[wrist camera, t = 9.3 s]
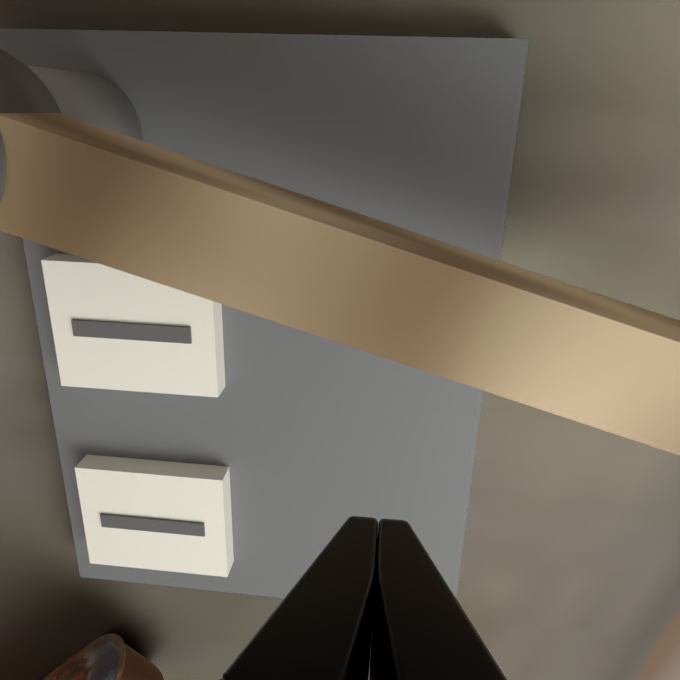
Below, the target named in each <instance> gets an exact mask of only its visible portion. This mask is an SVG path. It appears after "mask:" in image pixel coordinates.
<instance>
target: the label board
mask: <svg viewBox="0 0 680 680" xmlns="http://www.w3.org/2000/svg"><path fill="white" fill-rule="evenodd" d="M528 47H529V39H515V38H466V37H416V36H366V35H316V34H267V33H217V32H167V31H118V30H68V29H18V28H0V50H3V51H5V52H7V53H8V54H10V55H12V56H14V57H16V58H17V59H18V60H20V61H21V62H22V63H24V64H25V65H26V66H27V67H29V68H30V69H31V70H32V71H33V72H34V73H35V74H36V75H37V76H38V77H39V78H40V80H41V81H42V82H43V83H44V84H45V86H46V87H47V88H48V90H49V91H50V93H51V94H52V96H53V98H54V99H55V101H56V103H57V105H58V107H59V109H60V111H61V114H64V115H67V116H70V117H73V118H76V119H79V120H82V121H85V122H88V123H91V124H94V125H97V126H100V127H103V128H106V129H109V130H112V131H115V132H118V133H121V134H124V135H127V136H130V137H133V138H136V139H138V140H141V141H144V142H147V143H150V144H153V145H156V146H159V147H162V148H165V149H168V150H171V151H174V152H177V153H180V154H183V155H186V156H189V157H192V158H195V159H198V160H201V161H204V162H207V163H210V164H213V165H216V166H219V167H222V168H225V169H228V170H231V171H234V172H237V173H240V174H243V175H246V176H249V177H252V178H255V179H258V180H261V181H264V182H267V183H270V184H273V185H276V186H279V187H282V188H285V189H288V190H291V191H294V192H297V193H300V194H303V195H306V196H309V197H312V198H315V199H318V200H321V201H324V202H327V203H330V204H333V205H336V206H339V207H342V208H345V209H348V210H351V211H354V212H357V213H360V214H363V215H366V216H369V217H371V218H374V219H377V220H380V221H383V222H386V223H389V224H392V225H395V226H398V227H401V228H404V229H407V230H410V231H413V232H416V233H419V234H422V235H425V236H428V237H431V238H434V239H437V240H440V241H443V242H446V243H449V244H452V245H455V246H458V247H461V248H464V249H467V250H470V251H473V252H476V253H479V254H482V255H485V256H488V257H491V258H494V259H497V260H501V252H502V245H503V237H504V229H505V222H506V214H507V206H508V199H509V191H510V184H511V176H512V168H513V161H514V153H515V146H516V138H517V130H518V123H519V115H520V107H521V100H522V92H523V85H524V77H525V69H526V62H527V54H528ZM22 239H23V238H22ZM23 245H24V251H25V257H26V262H27V268H28V274H29V280H30V286H31V292H32V298H33V303H34V309H35V315H36V321H37V327H38V333H39V339H40V344H41V350H42V356H43V362H44V368H45V374H46V380H47V385H48V391H49V397H50V403H51V409H52V415H53V421H54V426H55V432H56V438H57V444H58V450H59V456H60V462H61V467H62V473H63V479H64V485H65V491H66V497H67V503H68V508H69V514H70V520H71V526H72V532H73V538H74V544H75V549H76V555H77V561H78V567H79V573H80V577H85V578H95V579H104V580H114V581H124V582H133V583H143V584H153V585H162V586H172V587H182V588H192V589H201V590H211V591H221V592H230V593H240V594H250V595H259V596H269V597H279V598H285V597H286V595H287V594H288V593H289V592H290V590H291V589H292V588H293V587H294V585H295V584H296V583H297V582H298V580H299V579H300V578H301V576H302V575H303V574H304V573H305V571H306V570H307V569H308V568H309V566H310V565H311V564H312V563H313V561H314V560H315V559H316V558H317V556H318V555H319V554H320V553H321V551H322V550H323V549H324V548H325V546H326V545H327V544H328V543H329V541H330V540H331V539H332V538H333V536H334V535H335V534H336V533H337V531H338V530H339V529H340V528H341V526H342V525H343V524H344V523H345V521H346V520H347V519H348V518H349V517H351V516H361V517H373V518H375V519H377V521H378V524H379V521H380V520H381V519H396V520H405V521H407V522H408V523H409V524H410V526H411V527H412V529H413V531H414V532H415V534H416V535H417V537H418V539H419V540H420V542H421V543H422V545H423V546H424V548H425V550H426V551H427V553H428V554H429V556H430V558H431V559H432V561H433V562H434V564H435V566H436V567H437V569H438V570H439V572H440V574H441V575H442V577H443V578H444V580H445V582H446V583H447V585H448V586H449V588H450V590H451V591H452V593H453V594H454V596H455V598H456V595H457V587H458V580H459V572H460V564H461V557H462V549H463V542H464V534H465V526H466V519H467V511H468V504H469V496H470V488H471V481H472V473H473V465H474V458H475V450H476V443H477V435H478V427H479V420H480V412H481V405H482V397H483V390H480V389H477V388H474V387H471V386H468V385H465V384H462V383H459V382H456V381H453V380H450V379H447V378H444V377H441V376H438V375H435V374H432V373H429V372H426V371H423V370H420V369H417V368H414V367H411V366H408V365H405V364H402V363H399V362H396V361H392V360H389V359H386V358H383V357H380V356H377V355H374V354H371V353H368V352H365V351H362V350H359V349H356V348H353V347H350V346H347V345H344V344H341V343H338V342H335V341H332V340H329V339H326V338H323V337H320V336H317V335H314V334H311V333H308V332H305V331H302V330H299V329H296V328H293V327H290V326H287V325H284V324H281V323H278V322H274V321H271V320H268V319H265V318H262V317H259V316H256V315H253V314H250V313H247V312H244V311H241V310H238V309H235V308H232V307H229V306H226V305H223V304H220V303H217V302H214V301H211V300H208V299H205V298H202V297H199V296H196V295H193V294H190V293H187V292H184V291H181V290H178V289H175V288H172V287H169V286H166V285H163V284H160V283H157V282H153V281H150V280H147V279H144V278H141V277H138V276H135V275H132V274H129V273H126V272H123V271H120V270H117V269H114V268H111V267H108V266H105V265H102V264H99V263H96V262H93V261H90V260H87V259H84V258H81V257H78V256H75V255H72V254H69V253H66V252H63V251H60V250H57V249H54V248H51V247H48V246H45V245H42V244H39V243H35V242H32V241H29V240H26V239H23ZM377 537H378V536H377Z"/></svg>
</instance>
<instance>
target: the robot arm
mask: <svg viewBox="0 0 680 680" xmlns="http://www.w3.org/2000/svg"><path fill="white" fill-rule="evenodd" d="M377 536H378V537H377ZM371 635H372V637H371ZM370 650H371V654H370ZM369 664H370V680H507V679H506V677H505V676H504V674H503V673H502V671H501V669H500V668H499V666H498V665H497V663H496V661H495V660H494V658H493V657H492V655H491V653H490V652H489V650H488V649H487V647H486V645H485V644H484V642H483V641H482V639H481V637H480V636H479V634H478V633H477V631H476V629H475V628H474V626H473V625H472V623H471V622H470V620H469V618H468V617H467V615H466V614H465V612H464V610H463V609H462V607H461V606H460V604H459V602H458V601H457V599H456V598H455V596H454V594H453V593H452V591H451V590H450V588H449V586H448V585H447V583H446V582H445V580H444V578H443V577H442V575H441V574H440V572H439V570H438V569H437V567H436V566H435V564H434V562H433V561H432V559H431V558H430V556H429V554H428V553H427V551H426V550H425V548H424V546H423V545H422V543H421V542H420V540H419V539H418V537H417V535H416V534H415V532H414V531H413V529H412V527H411V526H410V524H409V523H408V522H407V521H405V520H396V519H381V520H380V521H379V524H378V521H377V519H375V518H373V517H361V516H351V517H349V518H348V519H347V520H346V521H345V523H344V524H343V525H342V526H341V528H340V529H339V530H338V531H337V533H336V534H335V535H334V536H333V538H332V539H331V540H330V541H329V543H328V544H327V545H326V546H325V548H324V549H323V550H322V551H321V553H320V554H319V555H318V556H317V558H316V559H315V560H314V561H313V563H312V564H311V565H310V566H309V568H308V569H307V570H306V571H305V573H304V574H303V575H302V576H301V578H300V579H299V580H298V582H297V583H296V584H295V585H294V587H293V588H292V589H291V590H290V592H289V593H288V594H287V595H286V597H285V598H284V599H283V600H282V602H281V603H280V604H279V605H278V607H277V608H276V609H275V610H274V612H273V613H272V614H271V615H270V617H269V618H268V619H267V620H266V622H265V623H264V624H263V625H262V627H261V628H260V629H259V630H258V632H257V633H256V634H255V635H254V637H253V638H252V639H251V640H250V642H249V643H248V644H247V645H246V647H245V648H244V649H243V650H242V652H241V653H240V654H239V655H238V657H237V658H236V659H235V660H234V662H233V663H232V664H231V665H230V667H229V668H228V669H227V670H226V672H225V673H224V674H223V679H219V680H368V676H369Z"/></svg>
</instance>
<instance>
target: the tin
mask: <svg viewBox="0 0 680 680" xmlns="http://www.w3.org/2000/svg"><path fill="white" fill-rule="evenodd" d="M42 680H164V679H163V676H162V673H161V672H160V671H159V669H158V668H157V667H156V666H155V665H154V664H153V663H151V662H150V661H149V660H148V659H146V658H145V657H143V656H142V655H141V654H139V653H138V652H136V651H135V650H134V649H132V648H131V647H130V646H128V645H127V644H125V643H124V641H123V639H122V638H121V636H119V635H117V634H114V633H112V634H106V635H103V636H101V637H99V638H97V639H95V640H94V641H93V642H91V643H90V644H88V645H87V646H85V647H84V648H83V649H82V650H80V651H79V652H78V653H76V654H75V655H74V656H72V657H71V658H70V659H68V660H67V661H66V662H64V663H63V664H62V665H60V666H59V667H58V668H56V669H55V670H54V671H52V672H51V673H50V674H48V675H47V676H46V677H44V678H43V679H42Z"/></svg>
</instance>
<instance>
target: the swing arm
mask: <svg viewBox="0 0 680 680" xmlns="http://www.w3.org/2000/svg"><path fill="white" fill-rule="evenodd" d="M0 231H2V232H5V233H8V234H11V235H14V236H17V237H20V238H23V239H26V240H29V241H32V242H35V243H39V244H42V245H45V246H48V247H51V248H54V249H57V250H60V251H63V252H66V253H69V254H72V255H75V256H78V257H81V258H84V259H87V260H90V261H93V262H96V263H99V264H102V265H105V266H108V267H111V268H114V269H117V270H120V271H123V272H126V273H129V274H132V275H135V276H138V277H141V278H144V279H147V280H150V281H153V282H157V283H160V284H163V285H166V286H169V287H172V288H175V289H178V290H181V291H184V292H187V293H190V294H193V295H196V296H199V297H202V298H205V299H208V300H211V301H214V302H217V303H220V304H223V305H226V306H229V307H232V308H235V309H238V310H241V311H244V312H247V313H250V314H253V315H256V316H259V317H262V318H265V319H268V320H271V321H274V322H278V323H281V324H284V325H287V326H290V327H293V328H296V329H299V330H302V331H305V332H308V333H311V334H314V335H317V336H320V337H323V338H326V339H329V340H332V341H335V342H338V343H341V344H344V345H347V346H350V347H353V348H356V349H359V350H362V351H365V352H368V353H371V354H374V355H377V356H380V357H383V358H386V359H389V360H392V361H396V362H399V363H402V364H405V365H408V366H411V367H414V368H417V369H420V370H423V371H426V372H429V373H432V374H435V375H438V376H441V377H444V378H447V379H450V380H453V381H456V382H459V383H462V384H465V385H468V386H471V387H474V388H477V389H480V390H483V391H486V392H489V393H492V394H495V395H498V396H501V397H504V398H507V399H510V400H513V401H517V402H520V403H523V404H526V405H529V406H532V407H535V408H538V409H541V410H544V411H547V412H550V413H553V414H556V415H559V416H562V417H565V418H568V419H571V420H574V421H577V422H580V423H583V424H586V425H589V426H592V427H595V428H598V429H601V430H604V431H607V432H610V433H613V434H616V435H619V436H622V437H625V438H628V439H631V440H635V441H638V442H641V443H644V444H647V445H650V446H653V447H656V448H659V449H662V450H665V451H668V452H671V453H674V454H677V455H680V321H679V320H676V319H673V318H670V317H667V316H664V315H661V314H658V313H655V312H652V311H649V310H646V309H643V308H640V307H637V306H634V305H631V304H628V303H625V302H622V301H619V300H616V299H613V298H610V297H607V296H604V295H602V294H599V293H596V292H593V291H590V290H587V289H584V288H581V287H578V286H575V285H572V284H569V283H566V282H563V281H560V280H557V279H554V278H551V277H548V276H545V275H542V274H539V273H536V272H533V271H530V270H527V269H524V268H521V267H518V266H515V265H512V264H509V263H506V262H503V261H500V260H497V259H494V258H491V257H488V256H485V255H482V254H479V253H476V252H473V251H470V250H467V249H464V248H461V247H458V246H455V245H452V244H449V243H446V242H443V241H440V240H437V239H434V238H431V237H428V236H425V235H422V234H419V233H416V232H413V231H410V230H407V229H404V228H401V227H398V226H395V225H392V224H389V223H386V222H383V221H380V220H377V219H374V218H371V217H369V216H366V215H363V214H360V213H357V212H354V211H351V210H348V209H345V208H342V207H339V206H336V205H333V204H330V203H327V202H324V201H321V200H318V199H315V198H312V197H309V196H306V195H303V194H300V193H297V192H294V191H291V190H288V189H285V188H282V187H279V186H276V185H273V184H270V183H267V182H264V181H261V180H258V179H255V178H252V177H249V176H246V175H243V174H240V173H237V172H234V171H231V170H228V169H225V168H222V167H219V166H216V165H213V164H210V163H207V162H204V161H201V160H198V159H195V158H192V157H189V156H186V155H183V154H180V153H177V152H174V151H171V150H168V149H165V148H162V147H159V146H156V145H153V144H150V143H147V142H144V141H141V140H138V139H136V138H133V137H130V136H127V135H124V134H121V133H118V132H115V131H112V130H109V129H106V128H103V127H100V126H97V125H94V124H91V123H88V122H85V121H82V120H79V119H76V118H73V117H70V116H67V115H64V114H61V111H60V109H59V107H58V105H57V103H56V101H55V99H54V98H53V96H52V94H51V93H50V91H49V90H48V88H47V87H46V86H45V84H44V83H43V82H42V81H41V80H40V78H39V77H38V76H37V75H36V74H35V73H34V72H33V71H32V70H31V69H30V68H29V67H27V66H26V65H25V64H24V63H22V62H21V61H20V60H18V59H17V58H16V57H14V56H12V55H10V54H8V53H7V52H5V51H3V50H0Z"/></svg>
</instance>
